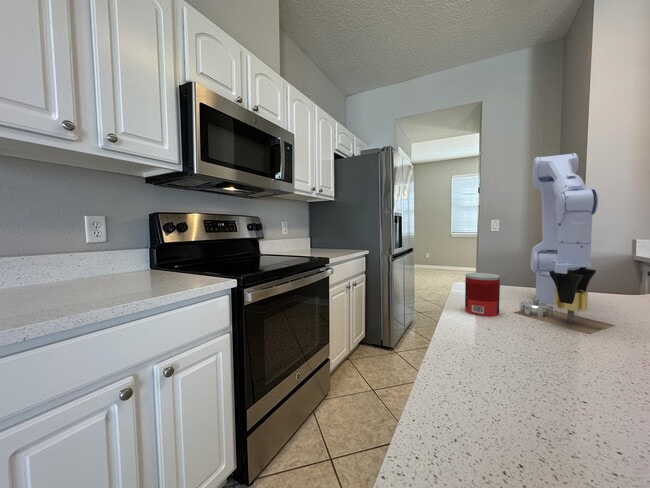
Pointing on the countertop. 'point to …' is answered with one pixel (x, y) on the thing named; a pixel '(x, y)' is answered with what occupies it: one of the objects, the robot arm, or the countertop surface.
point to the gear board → (571, 321)
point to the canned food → (482, 294)
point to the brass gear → (578, 303)
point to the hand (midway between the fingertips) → (571, 300)
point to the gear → (536, 309)
